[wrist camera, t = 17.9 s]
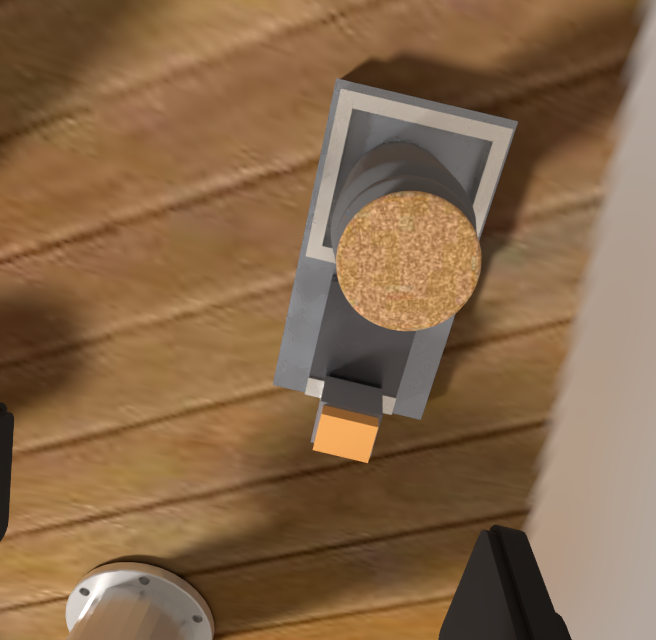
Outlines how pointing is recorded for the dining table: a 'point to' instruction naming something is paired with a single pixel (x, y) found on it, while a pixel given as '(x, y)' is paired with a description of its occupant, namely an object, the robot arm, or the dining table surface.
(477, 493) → the dining table surface
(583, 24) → the dining table surface
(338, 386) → the toggle
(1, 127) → the dining table surface
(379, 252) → the bottle
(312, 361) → the panel
